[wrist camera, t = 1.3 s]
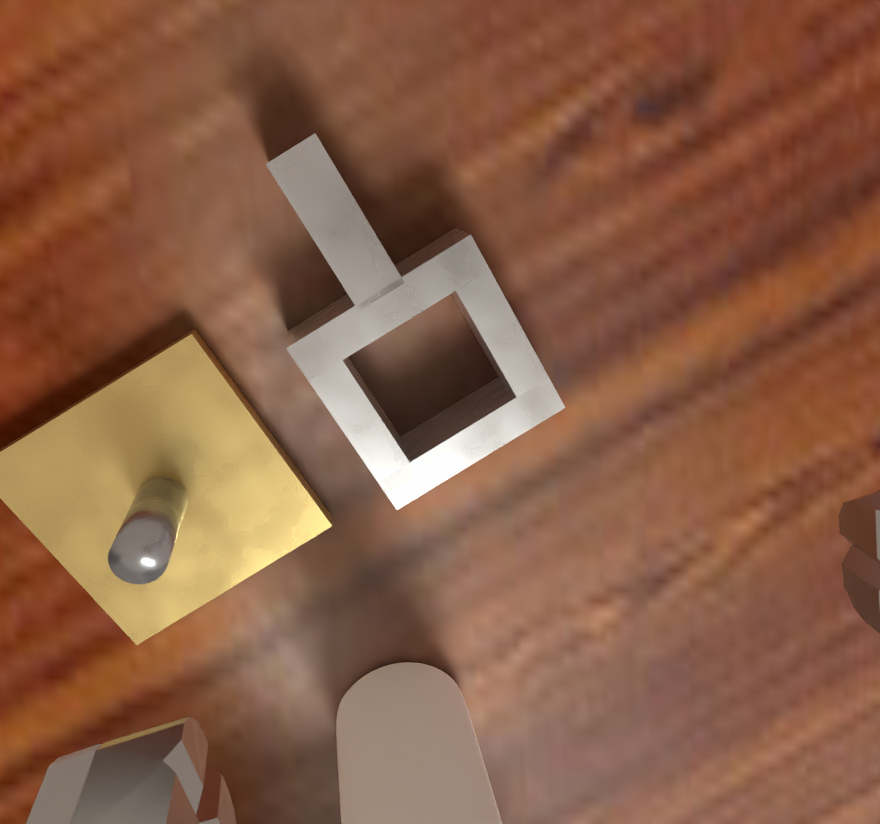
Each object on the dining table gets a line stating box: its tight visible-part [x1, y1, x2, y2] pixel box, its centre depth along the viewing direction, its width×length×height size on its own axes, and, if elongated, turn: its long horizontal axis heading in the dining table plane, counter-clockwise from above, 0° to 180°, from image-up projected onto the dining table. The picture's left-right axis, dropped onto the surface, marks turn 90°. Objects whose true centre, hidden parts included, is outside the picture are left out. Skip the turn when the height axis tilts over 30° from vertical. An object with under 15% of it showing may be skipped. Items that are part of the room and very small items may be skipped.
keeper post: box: [0, 329, 332, 645], centre depth 29 cm, size 10×10×6 cm
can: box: [336, 662, 502, 824], centre depth 32 cm, size 6×6×12 cm
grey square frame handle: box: [266, 133, 565, 510], centre depth 30 cm, size 14×8×3 cm, turn 30°
